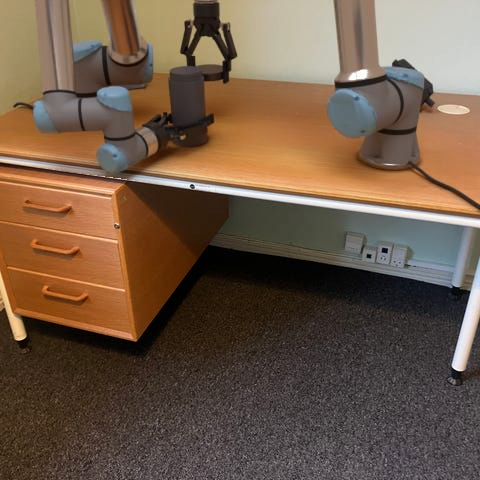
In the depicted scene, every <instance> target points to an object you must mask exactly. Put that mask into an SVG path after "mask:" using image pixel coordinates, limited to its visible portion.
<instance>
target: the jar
mask: <svg viewBox="0 0 480 480" xmlns="http://www.w3.org/2000/svg"><path fill="white" fill-rule="evenodd" d="M167 81H168V92H169V104H170V113H171V117H172V124H171V125H176V124H178V125H185V124H190V123H195V122H199V121H198V120H199V119H201V118H203V117H205V116H207V113H206V112H207V111H206V110H207V109H206V92H205V91H206V90H205V89H206V88H205V81H204V76H202V70H201V68H199V67H195V66H187V65H181V66H176V67H172V68H171V69H169V77H168V78H167ZM175 129H176V134H177V128H175ZM207 141H208V133H205V134H202V135H199V136H196V137H193V138H190V139H188V140H186V141H184V142H180V140H179V139H174V140H173V143H174V144H175V145H177V146H180V147H198V146H201V145H203V144H205V143H207Z"/></svg>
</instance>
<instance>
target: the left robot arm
mask: <svg viewBox="0 0 480 480" xmlns="http://www.w3.org/2000/svg"><path fill="white" fill-rule="evenodd" d="M100 4H101V8H102V12H103V16H104V20H105V25H106V28H107V33H108V37H109V41H108V42H107V43H108V44H107V45H103V43H102V41H101V40H100V39H90V40H84V41H79V42H75V43H73V34H72V33H73V32H72V21H71V19H72V18H71V8H70V7H71V6H70V0H34V10H35V21H36V22H35V23H36V33H37V45H38V46H37V47H38V57H39V68H40V69H39V70H40V79H41V80H40V81H41V92H42V99H40V100H36V101H35V102H34V103H33V105H32V104H29V103H26V102H22V101H21V102H20V101H19V102H16V103H14V104H13V106H12V108H14V109H15V108H17V107H18V106H24V107H27V108H29V109H33V110H32V114H33V121H34V124H35V127H36V129H37V130H38V131H39V132H40V133H42V134H58V135H60V134H66V133H67V134H68V133H82V132H83V133H85V132H102V134H103V141H104V143H102V144H101V145H100V146H99V147H98V148H97V151H96V160H97V163H98V165H99V166H100V168H101V169H102V170H103V171H104V172H106V173H108V174H111V175H116V174H119V173H121V172H123V171H127V170H129V168H132V167H133V166H135V165H137V164H138V163H140V162H142V161H145V159H147V158H150V157H151V156H153V155H155V154H158V153H159V152H161V151H162V150H164V149H165V148H167V146H168V144H169V142H172V141H174V139H179V140H180V142H184V141H186V140H188V139H190V138H193V137H196V136H199V135H202V134H205V133H207V134H208V132H209V131H208V127H210V126H212V125H214V124H215V113H212V112H211V113H209V114H206V116H205V117H203V118H201V119H199V120H198V121H199V122H195V123H190V124H185V125H178V124H176V125H172V117H171V112H170V113H168V111H163V112H162V114H161V113H157V114H156V115H154V116H153V117H152V118H151V119H149V120H148V121H147V122H145V123H143V124H141V126H140V127H138V128H136V127H135V119H134V107H133V105H132V104H133V103H132V99H131V93H130V91H129V89H126V88H123V87H119V86H111V85H141V84H145V85H146V84H151V83H152V81H153V79H154V47H153V44H151V43H149V42H147V41H146V39H145V37H143V36H142V35H141V31H140V26H139V21H138V14H137V8H136V2H135V0H100ZM108 86H111V87H108ZM169 124H170V125H169ZM175 128H177V134H176V129H175Z"/></svg>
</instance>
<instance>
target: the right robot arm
mask: <svg viewBox="0 0 480 480" xmlns="http://www.w3.org/2000/svg"><path fill="white" fill-rule="evenodd" d="M193 1H194V2H193V3H192V13H193V20H192V19H191V18H189V19H186V20H184V22H183V24H184V31H183V35H182V40H181V45H180V50H179V54H180V55H184V56H185V59H186V60H185V61H186V66H197V63H196V61H197V60H196V55H194V52H195V51H196V48H197V46H198V44H199V43H200V41H201V39H202V37H207V38H211V40H212V41H214V42H215V45H216V46H217V48H218V50H219V52H220V54H221V55H222V57H223V59H224V60H222V63H221V65H222V67H223V79H222V84H223V85H226V84H227V83H229V82H230V72H231V71H232V60H234V59H237V58H238V52H237V49H236V45H235V42H234V39H233V35H232V32H231V23H230V22H222V21H221V4H220V2H219V0H193ZM333 10H334V23H335V32H336V42H337V52H338V62H339V64H338V65H339V71H338V74H337V75H336V76H335V78H334V79H333V81H334V91H335V92H333V93H332V94H331V95H330V96H329V99H328V100H327V104H326V114H327V118H328V121H329V123H330V124H331V126H332V128H333V129H334V130H335V131H337V133H338V134H339V135H341V136H342V137H345V138H347V139H352V140H355V139H361V138H363V137H364V138H363V141H362V143H361V145H360V147H359V151H358V159H359V160H360V162H362V163H363V164H364V165H367V166H369V167H372V168H374V169H378V170H385V171H403V170H408V169H412V168H414V169H415V170H416V171H417V172H419V173H420V174H421V175H422V176H423V177H424V178H426V179H427V180H429V181H430V182H432V183H434V184H435V185H438V186H440V187H443V188H445V189H447V190H449V191H451V192H453V193H455V194H457V195H458V196H460V197H461V198H462V199H464V200H465V201H467V202H468V203H470V204H472V205H473V206H475V207H476V208H477V209H479V210H480V203H479V202H477V201H475V200H474V199H472V198H470V197H469V196H468V195H466V194H465V193H463V192H461V191H460V190H459V189H457V188H455V187H453V186H451V185H449V184H446V183H443V182H441V181H439V180H437V179H435V178H434V177H432V176H431V175H429V174H428V173H427V172H426V171H424V170H423V169H422V168H421V167H419V166H418V164H419V163H420V158H421V153H420V151H421V150H420V146H419V140H418V135H417V130H418V124H419V119H420V111H421V108H422V107H421V101H422V95H423V90H424V79H425V78H426V77H425V75H424V73H423V72H421V71H419V70H417V69H416V70H417V71H416V70H413V69H408V68H401V67H391V66H390V65H389V66H388V65H387V66H386V65H385V66H381V65H380V60H379V59H380V58H379V45H378V30H377V17H376V14H377V13H376V3H375V0H333ZM194 28H195V32H194V34H193V38H192V39H191V37H192V32H193V29H194ZM220 30H221V31H222V34H223V37H224V39H223V37H222V34H221V32H220ZM424 77H425V78H424Z"/></svg>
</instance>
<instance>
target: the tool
mask: <svg viewBox="0 0 480 480" xmlns="http://www.w3.org/2000/svg"><path fill="white" fill-rule="evenodd" d="M390 67H401V68H408V69H413V70H416V71H418V70H417V68H415V66H413V65H412V64H411V63H410V62H409V61H407V60H406V59H405V58H401V59H394V60H393V61H392V63H391V66H390ZM424 78H425V79H424V90H423V95H422V101H421V107H420V108H422V107H423V106H424V105H425V104H426V105H427V106H428V107H429V108H432V107H433V106H434V105H435V104H436V101H434V100H433V99H432V98H431V96H432V95H434V93H435V91H434V85H433V83H432V82H431V81H430V80H428V78H426V76H424Z"/></svg>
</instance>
